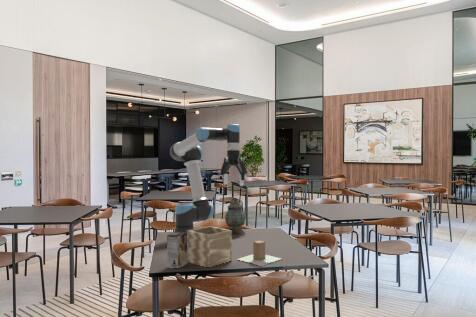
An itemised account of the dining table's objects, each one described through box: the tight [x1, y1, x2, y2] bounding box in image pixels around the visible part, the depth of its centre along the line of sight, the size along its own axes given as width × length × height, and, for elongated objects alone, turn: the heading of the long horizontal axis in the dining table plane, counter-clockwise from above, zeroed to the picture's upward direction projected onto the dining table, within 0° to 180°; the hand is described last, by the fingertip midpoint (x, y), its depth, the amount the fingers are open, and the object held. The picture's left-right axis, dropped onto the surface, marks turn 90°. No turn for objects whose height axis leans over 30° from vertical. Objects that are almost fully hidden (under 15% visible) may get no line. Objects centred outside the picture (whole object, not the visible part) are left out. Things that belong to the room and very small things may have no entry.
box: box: [187, 225, 233, 268], centre depth 188 cm, size 16×16×16 cm
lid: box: [236, 240, 282, 263], centre depth 191 cm, size 17×17×10 cm
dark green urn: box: [224, 197, 246, 237], centre depth 255 cm, size 14×14×25 cm
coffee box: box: [166, 232, 188, 269], centre depth 181 cm, size 9×6×16 cm
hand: (233, 185), depth 219 cm, fingers open, 13 cm apart
